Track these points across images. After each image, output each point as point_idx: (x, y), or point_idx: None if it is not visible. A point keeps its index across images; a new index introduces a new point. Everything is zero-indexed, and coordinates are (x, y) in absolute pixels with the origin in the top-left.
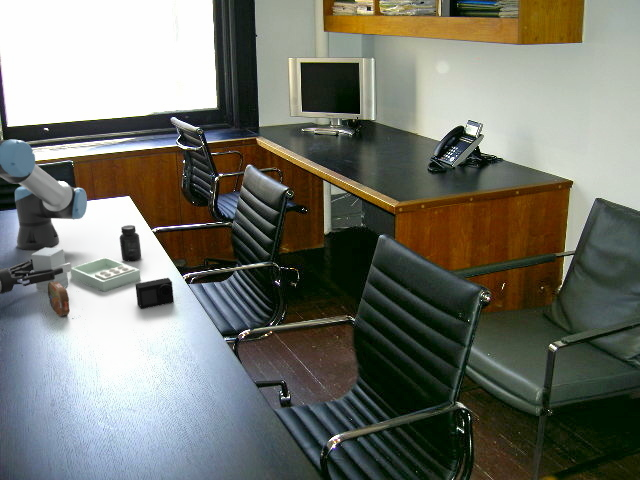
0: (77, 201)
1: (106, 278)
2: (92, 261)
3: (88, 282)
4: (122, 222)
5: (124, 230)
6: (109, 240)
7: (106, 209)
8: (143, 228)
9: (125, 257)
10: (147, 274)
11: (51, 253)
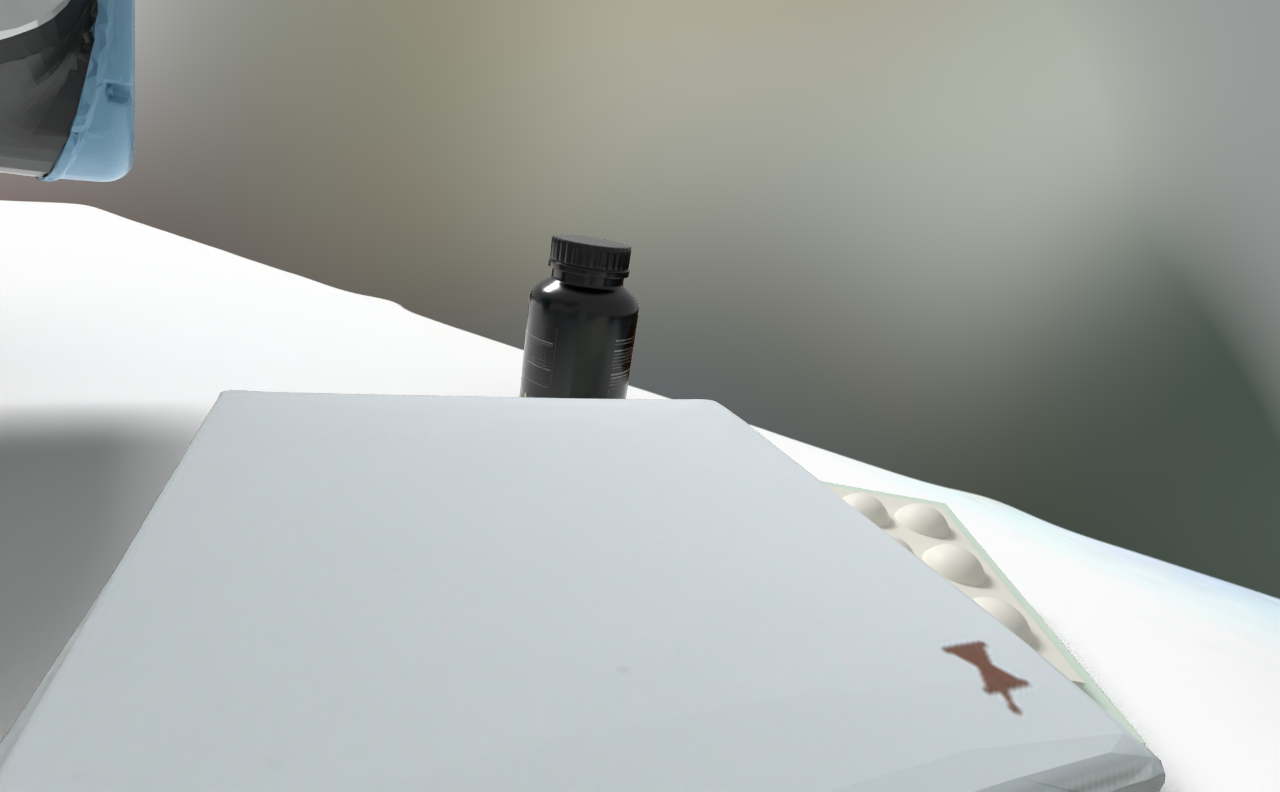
0: (130, 25)
1: (1072, 675)
2: None
3: None
4: (203, 269)
5: (600, 256)
6: (260, 334)
7: (48, 226)
8: (342, 292)
9: None
10: None
11: (892, 587)
